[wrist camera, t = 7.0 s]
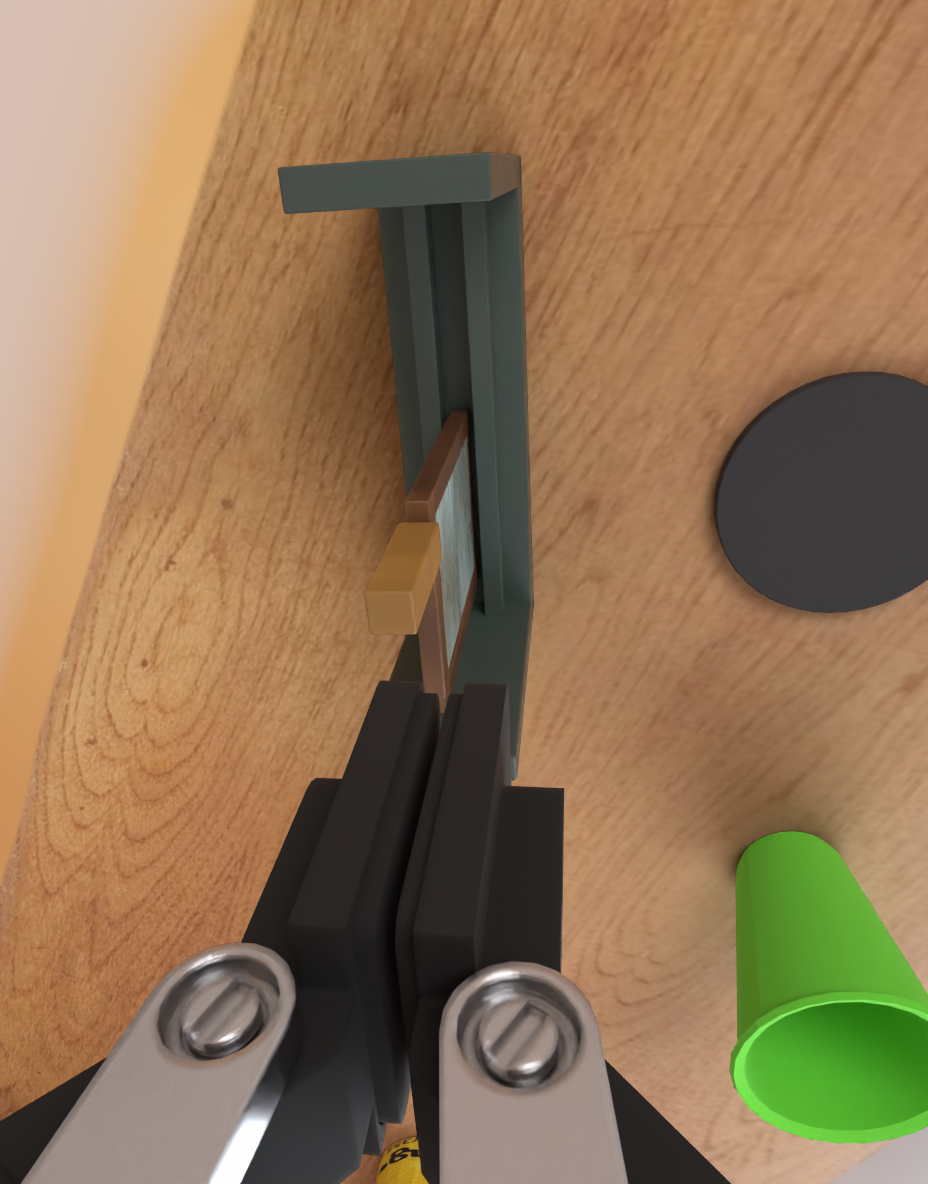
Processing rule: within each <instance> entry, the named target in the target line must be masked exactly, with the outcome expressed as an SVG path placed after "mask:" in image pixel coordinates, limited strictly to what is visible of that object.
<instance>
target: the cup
mask: <svg viewBox="0 0 928 1184" xmlns="http://www.w3.org/2000/svg"><path fill="white" fill-rule="evenodd" d="M736 951H737V1039H738V1041H737V1043H736V1045H735V1047H734V1049H733V1051H732V1053H731V1062H730V1074H731V1078H732V1081H733V1084H734V1088H735V1089H736V1091H737V1092H738V1093H739V1095H740V1096H741V1098H742V1099H743V1100H744V1102H745V1103H746V1105H747V1106H748V1107H749V1109H751V1110H752V1111H753V1112H754V1113H755V1114H757V1115H758V1116H759V1117H760V1118H762V1119H763V1120H764V1121H765V1122H767V1123H769V1124H771V1125H773V1126H775V1127H777V1128H779V1129H781V1130H783V1131H785V1132H788V1133H791V1134H794V1135H798V1136H801V1137H804V1138H808V1139H812V1140H819V1141H826V1142H833V1143H869V1142H876V1141H884V1140H891V1139H894V1138H898V1137H901V1136H905V1135H908V1134H911V1133H915V1132H917V1131H919V1130H921V1129H923V1128H925V1127H928V994H927V992H926V991H925V989H924V988H923V986H922V984H921V983H920V981H919V980H918V978H917V976H916V975H915V973H914V972H913V970H912V968H911V967H910V965H909V964H908V962H907V961H906V959H905V957H904V956H903V954H902V953H901V951H900V949H899V948H898V946H897V945H896V943H895V942H894V940H893V938H892V937H891V935H890V934H889V932H888V930H887V929H886V927H885V926H884V924H883V922H882V921H881V919H880V918H879V916H878V915H877V913H876V911H875V910H874V908H873V907H872V905H871V903H870V902H869V900H868V899H867V897H866V896H865V894H864V892H863V891H862V889H861V888H860V886H859V884H858V883H857V881H856V880H855V878H854V876H853V875H852V873H851V872H850V870H849V869H848V867H847V865H846V864H845V862H844V861H843V859H842V857H841V856H840V854H839V853H838V852H837V851H836V850H835V849H834V848H833V847H832V846H830V845H829V844H827V843H826V842H825V841H823V840H822V839H820V838H818V837H816V836H814V835H811V834H807V833H804V832H795V831H788V832H778V833H774V834H770V835H767V836H765V837H763V838H761V839H758V840H757V841H755V842H754V843H753V844H751V845H750V846H749V847H748V848H747V849H746V851H745V852H744V853H743V855H742V857H741V859H740V861H739V864H738V866H737V869H736Z"/></svg>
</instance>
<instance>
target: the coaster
mask: <svg viewBox="0 0 928 1184" xmlns="http://www.w3.org/2000/svg"><path fill="white" fill-rule="evenodd" d="M715 521H716V528H717V532H718V535H719V539H720V542H721V545H722V547H723V549H724V551H725V553H726V556H727V558H728V560H729V561H730V563H731V564H732V566H733V567H734V569H735V570H736V572H737V573H738V574H739V575H740V576H741V577H742V578H743V579H744V580H745V581H746V582H747V583H748V584H749V585H750V586H752V587H753V588H754V589H755V590H757V591H758V592H760V593H761V594H763V595H765V596H766V597H768V598H769V599H772V600H774V601H776V602H778V603H781V604H783V605H786V606H789V607H793V608H796V609H800V610H806V611H812V612H825V613H836V612H849V611H855V610H861V609H866V608H869V607H873V606H877V605H880V604H883V603H885V602H888V601H891V600H893V599H896V598H898V597H900V596H902V595H904V594H905V593H907V592H909V591H911V590H913V589H914V588H916V587H917V586H919V585H921V584H922V583H924V582H925V581H926V580H928V386H926V385H924V384H922V383H920V382H918V381H916V380H913V379H910V378H907V377H903V376H900V375H896V374H889V373H883V372H852V373H843V374H838V375H834V376H829V377H825V378H822V379H819V380H816V381H813V382H810V383H807V384H805V385H803V386H801V387H799V388H797V389H795V390H793V391H791V392H789V393H787V394H786V395H784V396H783V397H781V398H779V399H778V400H776V401H775V402H773V403H772V404H771V405H770V406H768V407H767V408H766V409H765V410H763V411H762V412H761V413H760V414H759V415H758V416H757V417H756V418H755V419H754V420H753V421H752V422H751V423H750V424H749V425H748V426H747V427H746V428H745V430H744V431H743V432H742V433H741V435H740V436H739V437H738V439H737V440H736V442H735V443H734V445H733V446H732V448H731V450H730V451H729V453H728V455H727V457H726V460H725V462H724V464H723V466H722V469H721V472H720V475H719V479H718V482H717V487H716V493H715Z"/></svg>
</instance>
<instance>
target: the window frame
mask: <svg viewBox="0 0 928 1184" xmlns="http://www.w3.org/2000/svg"><path fill="white" fill-rule="evenodd" d="M278 175H279V182H280V189H281V196H282V203H283V210H284V213H285V214H294V213H310V212H325V211H340V210H356V209H371V208H378V216H379V226H380V236H381V247H382V257H383V267H384V277H385V287H386V297H387V307H388V317H389V327H390V337H391V347H392V357H393V367H394V377H395V387H396V397H397V407H398V417H399V427H400V438H401V448H402V458H403V468H404V478H405V488H406V498H407V497H408V495H409V493H410V491H411V489H412V487H413V485H414V483H415V481H416V479H417V477H418V475H419V473H420V471H421V469H422V467H423V465H424V463H425V461H426V459H427V457H428V455H429V453H430V451H431V449H432V447H433V445H434V443H435V441H436V439H437V437H438V435H439V433H440V431H441V429H442V428H443V426H444V424H445V422H446V420H447V418H448V416H449V414H450V412H451V410H452V409H457V408H469V411H470V430H469V433H470V449H471V466H472V482H473V498H474V515H475V531H476V547H477V560H478V562H479V579H478V584H477V588H476V592H475V596H474V601H473V605H472V609H471V613H470V618H469V622H468V626H467V631H466V635H465V639H464V643H463V648H462V652H461V656H460V660H459V665H458V669H457V673H456V678H455V682H454V686H453V690H452V694H463V692H464V688H465V684H466V683H487V684H508V688H509V713H510V753H511V780H516V779H517V774H518V764H519V753H520V743H521V732H522V722H523V712H524V701H525V691H526V680H527V670H528V660H529V649H530V639H531V628H532V618H533V608H534V600H533V566H532V531H531V497H530V462H529V428H528V393H527V359H526V325H525V290H524V256H523V221H522V187H521V156H520V155H513V154H502V153H491V152H483V153H469V154H455V155H442V156H428V157H414V158H401V159H387V160H373V161H359V162H346V163H332V164H318V165H305V166H291V167H279V168H278ZM389 681H413V682H422V683H423V674H422V664H421V654H420V644H419V634H418V631H417V633H416V634H414V635H411V634H406V636H405V639H404V641H403V644H402V647H401V650H400V653H399V655H398V658H397V661H396V664H395V666H394V669H393V672H392V675H391V678H390V680H389ZM423 685H424V684H423ZM440 716H441V725H442V721H443V717H444V713H440Z"/></svg>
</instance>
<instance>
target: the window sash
mask: <svg viewBox="0 0 928 1184" xmlns="http://www.w3.org/2000/svg"><path fill="white" fill-rule="evenodd" d="M469 430H470V411H469V408H457V409H452V410H451V412H450V414H449V416H448V418H447V420H446V422H445V424H444V426H443V428H442V429H441V431H440V433H439V435H438V437H437V439H436V441H435V443H434V445H433V447H432V449H431V451H430V453H429V455H428V457H427V459H426V461H425V463H424V465H423V467H422V469H421V471H420V473H419V475H418V477H417V479H416V481H415V483H414V485H413V487H412V489H411V491H410V493H409V495H408V497H407V499H406V501H405V507H406V517H407V523H398V525H397V527H396V529H395V531H394V533H393V535H392V537H391V539H390V541H389V543H388V545H387V547H386V549H385V552H384V554H383V556H382V558H381V560H380V562H379V564H378V566H377V568H376V570H375V572H374V574H373V576H372V578H371V580H370V582H369V584H368V586H367V588H366V590H365V593H364V595H365V603H366V611H367V618H368V626H369V632H370V634H411V635H414V634H416V633H417V631H418V634H419V644H420V654H421V664H422V674H423V684H424V689H425V693H437V694H438V696H439V703H440V713H445V708H446V704H447V700H448V696H449V694H452V690H453V686H454V682H455V678H456V673H457V669H458V665H459V660H460V656H461V652H462V648H463V643H464V639H465V635H466V631H467V626H468V622H469V618H470V613H471V609H472V605H473V601H474V596H475V592H476V588H477V584H478V579H479V562H478V560H477V547H476V531H475V515H474V498H473V482H472V466H471V449H470V433H469Z"/></svg>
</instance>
